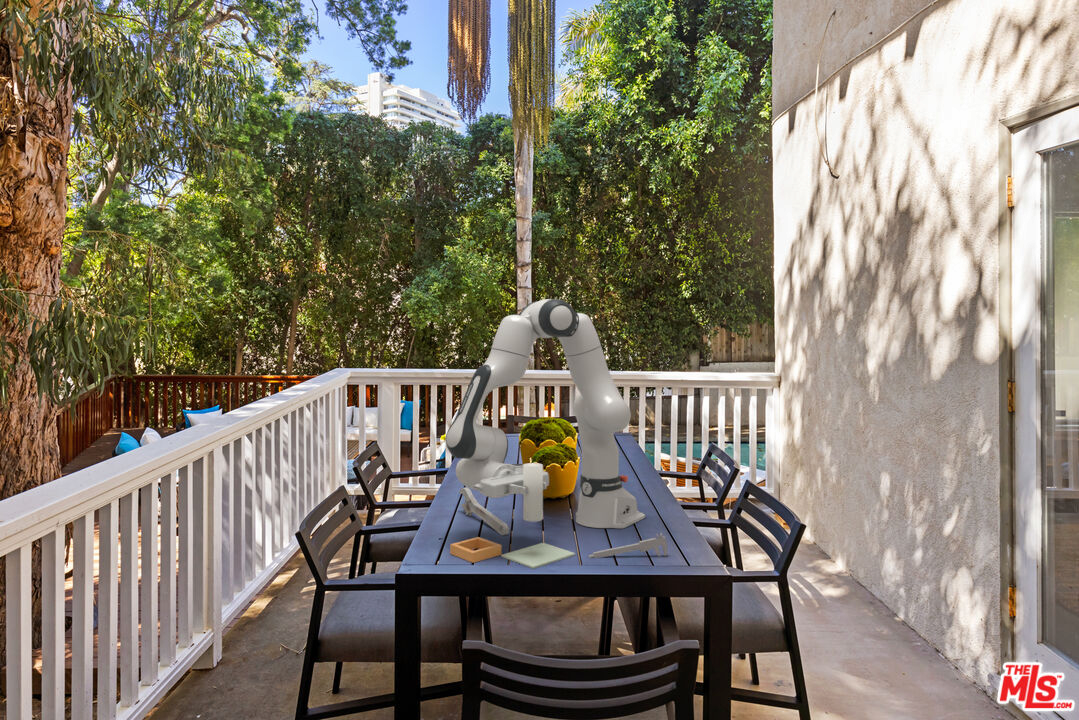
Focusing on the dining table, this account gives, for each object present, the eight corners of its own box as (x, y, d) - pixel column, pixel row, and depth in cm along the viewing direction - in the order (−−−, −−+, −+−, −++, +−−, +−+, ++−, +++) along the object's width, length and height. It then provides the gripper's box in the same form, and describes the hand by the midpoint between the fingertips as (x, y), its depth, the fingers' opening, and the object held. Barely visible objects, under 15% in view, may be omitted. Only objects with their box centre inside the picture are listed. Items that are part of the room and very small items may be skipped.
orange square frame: (478, 546, 195) (478, 536, 194) (501, 554, 188) (501, 545, 188) (450, 553, 188) (450, 544, 188) (472, 562, 181) (472, 553, 181)
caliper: (666, 556, 188) (666, 532, 188) (667, 557, 187) (667, 533, 187) (588, 557, 187) (588, 533, 186) (589, 559, 186) (589, 535, 185)
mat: (543, 544, 196) (543, 542, 196) (575, 555, 188) (575, 553, 188) (501, 556, 186) (501, 554, 186) (533, 568, 177) (533, 566, 177)
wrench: (502, 546, 204) (457, 509, 229) (508, 545, 205) (463, 508, 230) (504, 519, 203) (459, 485, 228) (510, 518, 204) (464, 484, 229)
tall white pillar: (533, 514, 190) (533, 462, 189) (546, 518, 187) (546, 465, 186) (519, 518, 187) (519, 464, 186) (532, 522, 183) (532, 467, 182)
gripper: (469, 474, 188) (504, 483, 178) (527, 462, 202) (563, 470, 192) (470, 498, 189) (504, 508, 179) (527, 485, 203) (563, 494, 193)
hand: (535, 488), depth 185 cm, fingers closed on tall white pillar, 5 cm apart
